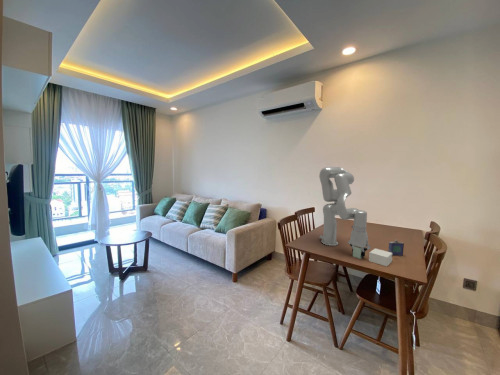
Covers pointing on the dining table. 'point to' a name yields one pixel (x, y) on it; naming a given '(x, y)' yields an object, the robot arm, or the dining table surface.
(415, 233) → the dining table surface
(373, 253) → the cream box
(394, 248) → the flask
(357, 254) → the open sage green box
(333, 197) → the robot arm
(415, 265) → the dining table surface
